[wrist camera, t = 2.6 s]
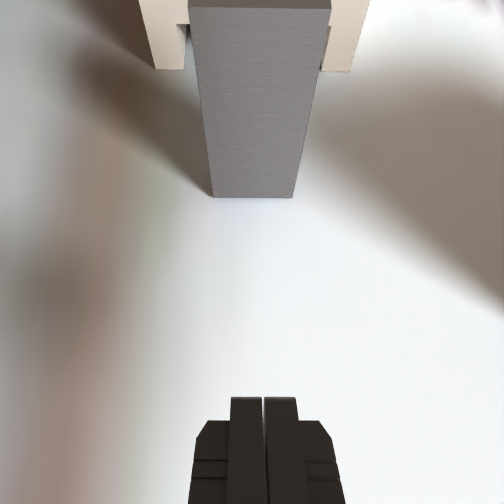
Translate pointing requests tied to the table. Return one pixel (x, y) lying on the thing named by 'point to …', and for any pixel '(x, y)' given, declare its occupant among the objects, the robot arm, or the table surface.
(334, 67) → the cream bridge-shaped block
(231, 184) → the tall gray rectangular post
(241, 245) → the table surface
